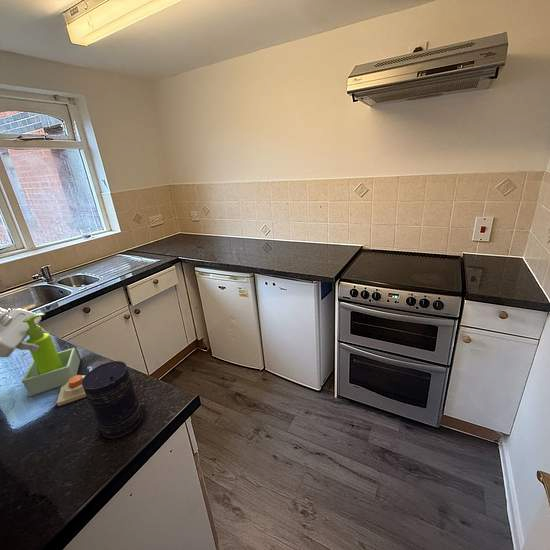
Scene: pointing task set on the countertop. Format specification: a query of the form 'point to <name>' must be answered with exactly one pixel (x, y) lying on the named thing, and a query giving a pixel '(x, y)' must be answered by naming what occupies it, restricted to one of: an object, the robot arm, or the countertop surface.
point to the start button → (75, 381)
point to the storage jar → (113, 398)
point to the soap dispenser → (42, 347)
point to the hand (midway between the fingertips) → (43, 342)
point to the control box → (70, 394)
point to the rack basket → (52, 373)
